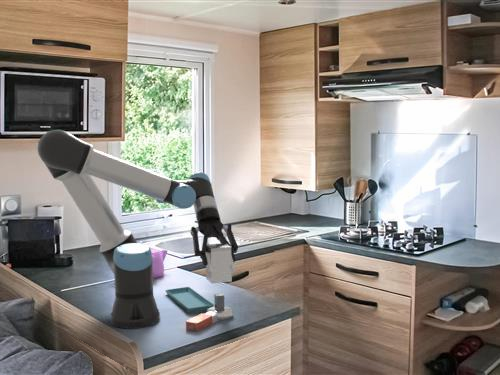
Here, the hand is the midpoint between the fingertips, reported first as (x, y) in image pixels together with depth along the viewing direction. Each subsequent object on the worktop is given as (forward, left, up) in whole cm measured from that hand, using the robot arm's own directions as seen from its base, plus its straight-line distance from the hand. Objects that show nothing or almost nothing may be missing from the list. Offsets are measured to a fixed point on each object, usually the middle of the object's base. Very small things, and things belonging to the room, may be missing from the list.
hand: (221, 272), depth 182 cm
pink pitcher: (+30, +59, -15) cm, 68 cm away
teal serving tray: (+10, +21, -16) cm, 28 cm away
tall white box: (+2, +3, -3) cm, 5 cm away
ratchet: (-3, +3, -15) cm, 16 cm away
